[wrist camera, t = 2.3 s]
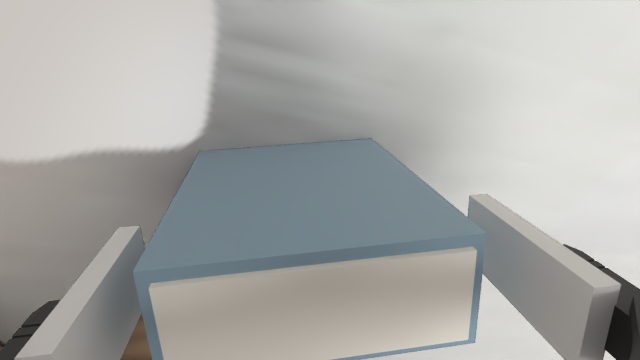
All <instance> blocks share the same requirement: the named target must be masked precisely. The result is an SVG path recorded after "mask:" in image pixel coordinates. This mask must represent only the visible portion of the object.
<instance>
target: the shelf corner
mask: <svg viewBox="0 0 640 360" xmlns="http://www.w3.org/2000/svg"><path fill="white" fill-rule="evenodd" d="M120 360H152V356H151V352H150V348H149V343H148V339H147V334H146V330H145V325H144V321H143V317H142V313H141V315H140V317H139V320H138V322H137V324H136V326H135V328H134V331H133V333H132V335H131V337H130V339H129V341H128V344H127V346H126V348H125V350H124V352H123V355H122V357H121V359H120Z"/></svg>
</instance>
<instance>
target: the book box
mask: <svg viewBox="0 0 640 360" xmlns="http://www.w3.org/2000/svg"><path fill="white" fill-rule="evenodd" d="M486 234H487V233H486V232H485V231H483V230H482V229H481V228H480V227H479V226H477V225H476V224H475V223H474V222H473V221H471V220H470V219H469V218H468V217H466V216H465V215H464V214H463V213H462V212H460V211H459V210H458V209H457V208H456V207H454V206H453V205H452V204H451V203H449V202H448V201H447V200H446V199H445V198H443V197H442V196H441V195H440V194H439V193H437V192H436V191H435V190H434V189H433V188H431V187H430V186H429V185H428V184H426V183H425V182H424V181H423V180H422V179H420V178H419V177H418V176H417V175H416V174H414V173H413V172H412V171H411V170H409V169H408V168H407V167H406V166H405V165H403V164H402V163H401V162H400V161H399V160H397V159H396V158H395V157H394V156H392V155H391V154H390V153H389V152H388V151H386V150H385V149H384V148H383V147H382V146H380V145H379V144H378V143H377V142H375V141H374V140H373V139H372V138H368V139H355V140H341V141H328V142H315V143H302V144H289V145H275V146H262V147H249V148H236V149H223V150H209V151H200V152H199V154H198V156H197V157H196V159H195V161H194V163H193V164H192V166H191V168H190V170H189V172H188V173H187V175H186V177H185V179H184V181H183V182H182V184H181V186H180V188H179V190H178V191H177V193H176V195H175V197H174V198H173V200H172V202H171V204H170V206H169V207H168V209H167V211H166V213H165V215H164V216H163V218H162V220H161V222H160V224H159V225H158V227H157V229H156V231H155V232H154V234H153V236H152V238H151V240H150V241H149V243H148V245H147V247H146V249H145V250H144V252H143V254H142V256H141V258H140V259H139V261H138V263H137V265H136V266H135V268H134V270H133V277H134V281H135V286H136V290H137V294H138V299H139V303H140V308H141V312H142V317H143V321H144V325H145V330H146V334H147V339H148V343H149V348H150V352H151V356H152V360H360V359H367V358H374V357H381V356H387V355H394V354H401V353H408V352H415V351H422V350H429V349H436V348H442V347H449V346H456V345H463V344H470V343H475V338H476V329H477V319H478V310H479V300H480V291H481V282H482V272H483V263H484V253H485V244H486Z"/></svg>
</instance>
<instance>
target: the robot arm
mask: <svg viewBox="0 0 640 360" xmlns="http://www.w3.org/2000/svg"><path fill="white" fill-rule="evenodd" d="M468 218H469V219H470V220H471V221H473V222H474V223H475V224H476V225H477V226H479V227H480V228H481V229H482V230H483V231H485V232H486V233H487V234H486V244H485V253H484V263H483V272H482V273H483V274H484V275H485V276H486V277H487V278H488V280H489V281H490V282H491V283H492V284H493V285H494V286H495V287H496V288H497V289H498V290H499V291H500V292H501V293H502V294H503V295H504V296H505V297H506V298H507V300H508V301H509V302H510V303H511V304H512V305H513V306H514V307H515V308H516V309H517V310H518V311H519V312H520V313H521V314H522V315H523V316H524V317H525V318H526V320H527V321H528V322H529V323H530V324H531V325H532V326H533V327H534V328H535V329H536V330H537V331H538V332H539V333H540V334H541V335H542V336H543V337H544V338H545V340H546V341H547V342H548V343H549V344H550V345H551V346H552V347H553V348H554V349H555V350H556V351H557V352H558V353H559V354H560V355H561V356H562V357H563V358H564V360H603V357H604V353H605V350H606V351H607V352H608V353H610V354H611V355H612V356H613V357H614V358H615V359H616V360H640V289H639V288H637V287H636V286H634V285H633V284H631V283H629V282H628V281H626V280H625V279H623V278H622V277H620V276H619V275H617V274H616V273H614V272H613V271H611V270H610V269H608V268H605V266H603V265H602V264H600V263H599V262H597V261H594V259H593V258H591V257H590V256H588V255H587V254H585V253H584V252H582V251H580V250H577V249H575V248H572V247H570V246H568V245H565V244H564V245H562V244H561V243H559V242H558V241H556V240H555V239H553V238H552V237H550V236H549V235H547V234H546V233H544V232H543V231H541V230H540V229H538V228H537V227H535V226H534V225H532V224H531V223H529V222H528V221H527V220H525V219H524V218H522V217H521V216H519V215H518V214H516V213H515V212H513V211H512V210H510V209H509V208H507V207H506V206H504V205H503V204H501V203H500V202H498V201H497V200H495V199H494V198H492V197H491V196H489V195H488V194H479V195H469V207H468ZM144 250H145V247H144V242H143V237H142V232H141V228H140V225H139V226H128V227H119V228H118V229H117V230H116V231H115V233H114V234H113V235H112V236H111V238H110V239H109V240H108V242H107V243H106V244H105V245H104V247H103V248H102V249H101V250H100V252H99V253H98V254H97V255H96V257H95V258H94V259H93V260H92V262H91V263H90V264H89V265H88V267H87V268H86V269H85V270H84V272H83V273H82V274H81V275H80V277H79V278H78V279H77V280H76V282H75V283H74V284H73V285H72V287H71V288H70V289H69V290H68V292H67V293H66V294H65V295H64V297H63V298H62V299H61V300H57V301H49V302H48V303H46V304H45V305H43V306H42V307H41V308H39V309H38V310H36V311H35V312H33V313H32V314H31V315H30V317H29V318H28V319H27V320H26V321H25V322H24V324H23V325H22V328H19V329H18V331H17V332H16V333H15V334H14V335H13V336H12V337H13V338H12V339H10V340H9V341H8V342H7V343H6V344H5V346H4V347H3V348H2V349H1V350H0V360H120V359H121V357H122V355H123V352H124V350H125V348H126V346H127V344H128V341H129V339H130V337H131V335H132V333H133V331H134V328H135V326H136V324H137V322H138V320H139V317H140V315H141V313H142V312H141V308H140V303H139V299H138V294H137V290H136V286H135V281H134V277H133V270H134V268H135V266H136V265H137V263H138V261H139V259H140V258H141V256H142V254H143V252H144Z"/></svg>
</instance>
